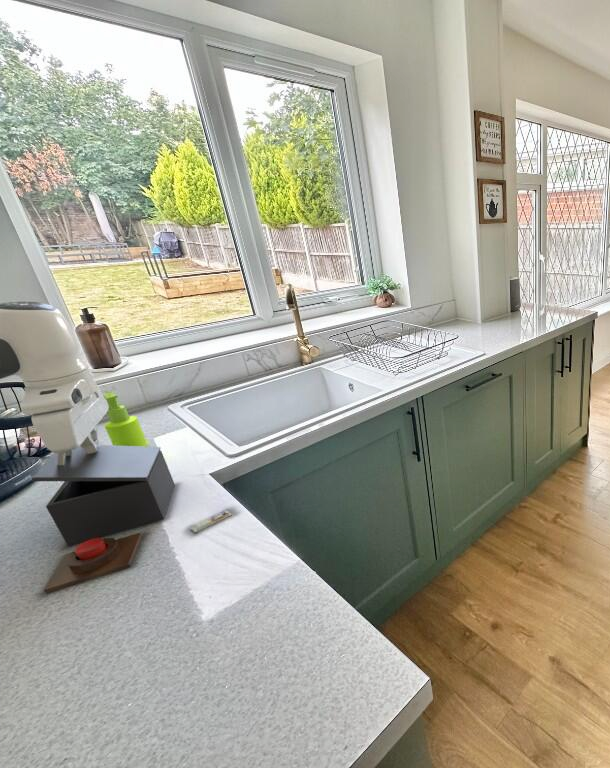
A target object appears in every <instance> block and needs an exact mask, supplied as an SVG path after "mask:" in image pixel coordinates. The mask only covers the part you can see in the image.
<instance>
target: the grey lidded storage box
mask: <svg viewBox="0 0 610 768" xmlns="http://www.w3.org/2000/svg"><path fill="white" fill-rule="evenodd" d="M175 487H176V484H175V481H174V479H173V477H172V474H171V471H170V469H169V467H168V464H167V461H166V459H165V457H164V454H163V452H162V450H160V452H159V454H158V456H157V458H156V461H155V463H154V465H153V468H152V470H151V472H150V474H149V477H148V479H147V481H63V483H62V484H61V485H60V487H59V488H58V489H57V491H56V492H55V494H54V495H53V496H52V498H51V499H50V500H49V501H48V503H47V504H46V505H45V507H46V509H47V511H48V513H49V515H50V517H51V518H52V520H53V522H54V524H55V526H56V527H57V530H59V533H60V535H61V537H62V538H63V540H64V541H65V543H66V545H67V547H69V548H70V547H72V546H76V545H80V544H82V543H84V542H85V541H88V540H90V539H94V538H105V537H107V536H111V535H112V536H113V535H115V534H119V533H121V532H125V531H130V530H133V529H137V528H139V527H143V526H146V525H150V524H153V523H157V522H160V521H164V520H165V519H166V516H167V512H168V509H169V506H170V503H171V499H172V496H173V494H174V490H175Z"/></svg>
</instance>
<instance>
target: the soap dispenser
mask: <svg viewBox="0 0 610 768" xmlns="http://www.w3.org/2000/svg"><path fill="white" fill-rule="evenodd" d="M102 394H103V396H104V398H105V400H106V402H107V404H108V411H107V413H106V414H107V417H108V419H109V421H108V422H106V423H105V424H104V428H105V431H106V433H107V435H108V437H109V439H110V442H111V443H112V445H113V446H145V447H150V446H149V443H148V440H147V439H146V435H145V434H144V431H143V428H142V427H141V424H140V422H139V419H138V417H137V416H135V415H129V413H128V411H127V409H126V408H127V407H126V406H125V405H124V404H119V402H118V395H117V394H116V393H114V392H113V391H109V392H105V393H102Z"/></svg>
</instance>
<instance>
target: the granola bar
mask: <svg viewBox="0 0 610 768" xmlns="http://www.w3.org/2000/svg"><path fill="white" fill-rule="evenodd" d="M230 516H232V513H231V512H230V511H229V510H222V511H220V512H218V513H216V514H214V515H212V516H210V517H208V518H205V519H204V520H203V519H202V520H201V521H199V522H197V523H195V524H194V525H193V526H191V527H189V529H190V530H191V531H193V533H197V532H199V531H202V530H204V529H206V528H208V527H210V526H212V525H214V524H216V523H219V522H220V521H222V520H224V519H226V518H228V517H230Z"/></svg>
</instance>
